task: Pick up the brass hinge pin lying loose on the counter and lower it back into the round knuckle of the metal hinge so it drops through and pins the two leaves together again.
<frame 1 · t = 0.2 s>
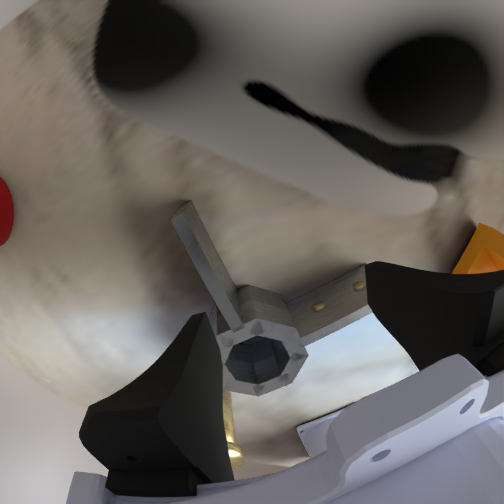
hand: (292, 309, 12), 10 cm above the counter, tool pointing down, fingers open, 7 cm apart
bracket: (475, 270, 26), on the counter
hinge: (249, 323, 23), on the counter
hinge pin: (215, 396, 26), on the counter
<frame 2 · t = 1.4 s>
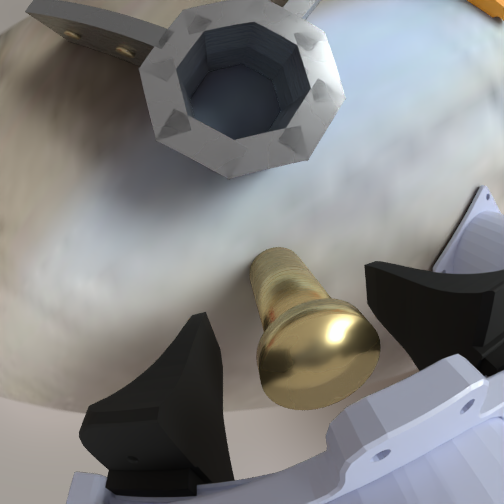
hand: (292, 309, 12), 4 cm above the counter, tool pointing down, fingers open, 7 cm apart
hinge: (235, 103, 13), on the counter
hinge pin: (276, 273, 16), on the counter
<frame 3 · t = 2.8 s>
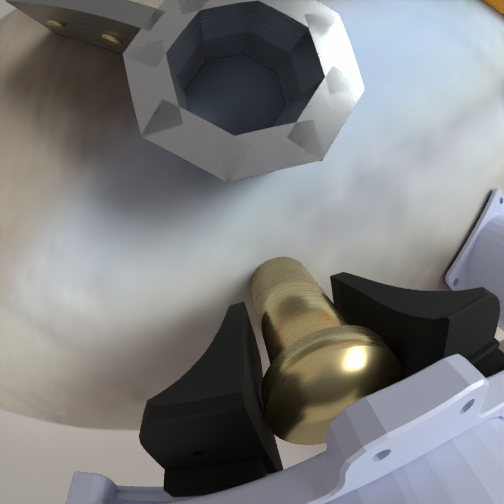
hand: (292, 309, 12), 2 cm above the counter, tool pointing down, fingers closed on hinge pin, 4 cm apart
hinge: (235, 97, 11), on the counter
hinge pin: (280, 285, 14), on the counter, touching gripper
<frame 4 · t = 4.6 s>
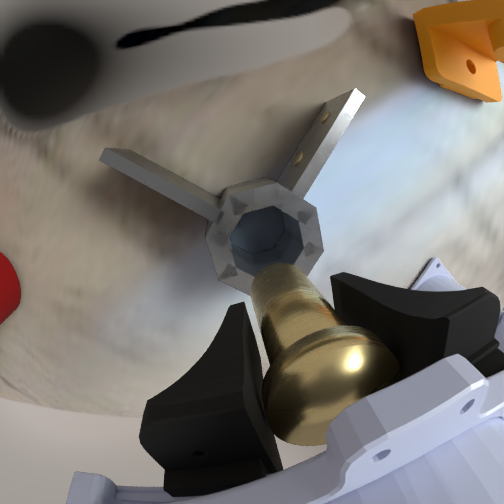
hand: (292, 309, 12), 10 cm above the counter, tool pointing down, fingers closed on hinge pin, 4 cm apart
beverage can: (3, 277, 20), on the counter
bracket: (451, 61, 19), on the counter
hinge: (256, 225, 22), on the counter
hinge pin: (280, 291, 14), point 8 cm above the counter, touching gripper
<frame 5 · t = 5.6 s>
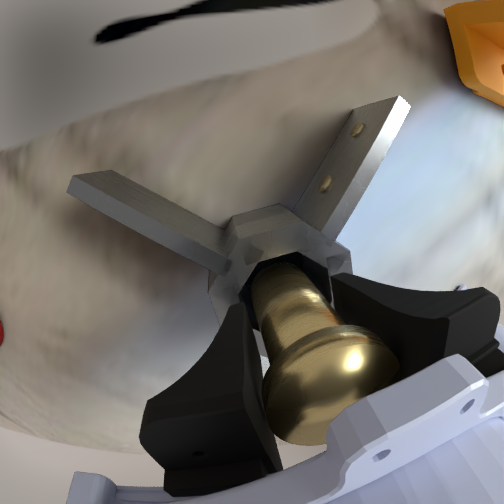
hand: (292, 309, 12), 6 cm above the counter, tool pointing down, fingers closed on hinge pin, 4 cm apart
bracket: (482, 65, 15), on the counter
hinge: (268, 261, 18), on the counter
hinge pin: (279, 290, 14), point 4 cm above the counter, touching gripper
when the fingers open (6 cm above the counter, at t = 6.4 s): hinge pin drops 3 cm, resting in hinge.
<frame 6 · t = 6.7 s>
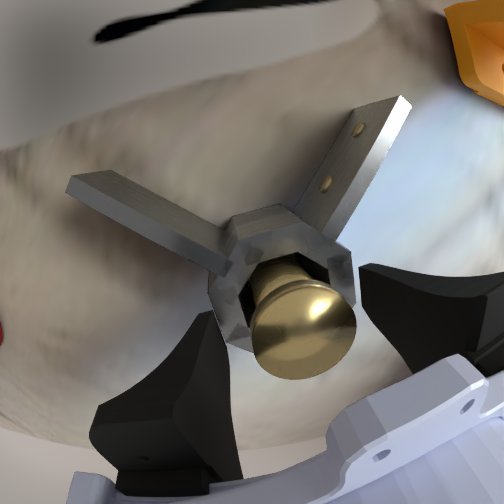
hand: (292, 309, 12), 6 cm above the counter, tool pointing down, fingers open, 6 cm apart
bracket: (482, 64, 15), on the counter
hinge: (268, 261, 18), on the counter
hinge pin: (270, 265, 18), resting in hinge
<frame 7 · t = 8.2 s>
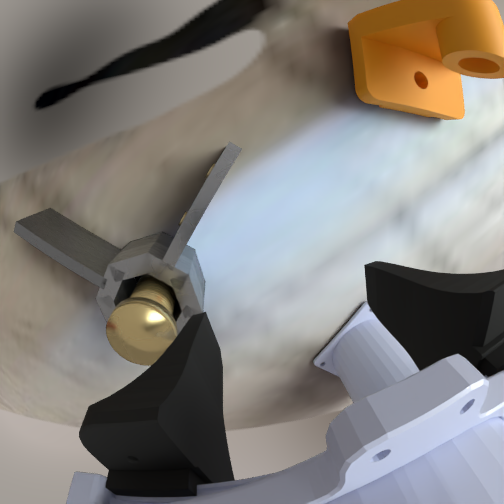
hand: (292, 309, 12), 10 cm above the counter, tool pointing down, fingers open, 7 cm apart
bracket: (400, 74, 19), on the counter
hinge: (160, 276, 22), on the counter
hinge pin: (161, 279, 22), resting in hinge
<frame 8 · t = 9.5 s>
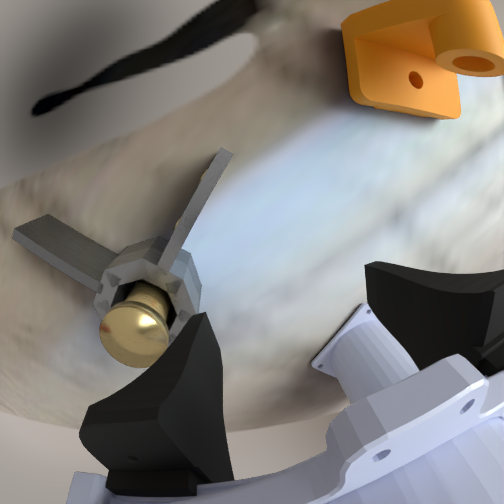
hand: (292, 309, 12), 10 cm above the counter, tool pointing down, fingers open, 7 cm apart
bracket: (395, 74, 19), on the counter
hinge: (156, 280, 22), on the counter
hinge pin: (158, 283, 22), resting in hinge
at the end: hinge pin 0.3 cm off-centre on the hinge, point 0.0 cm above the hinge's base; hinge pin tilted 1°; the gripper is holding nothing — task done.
